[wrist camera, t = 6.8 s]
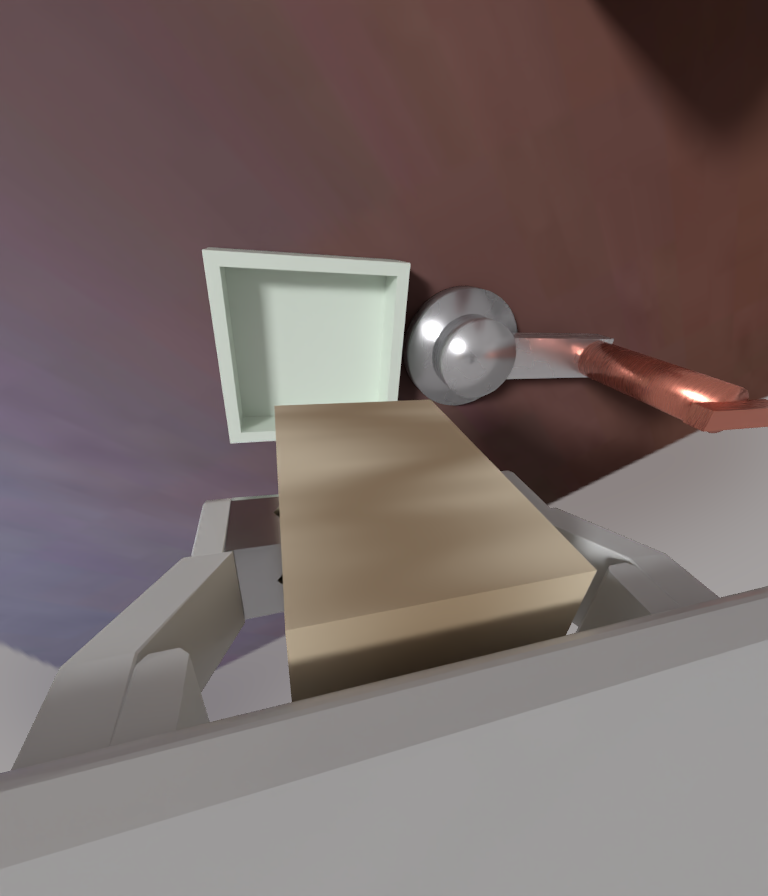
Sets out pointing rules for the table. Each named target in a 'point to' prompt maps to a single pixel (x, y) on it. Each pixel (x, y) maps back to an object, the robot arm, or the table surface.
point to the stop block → (407, 547)
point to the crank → (587, 371)
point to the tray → (303, 332)
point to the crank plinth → (431, 324)
